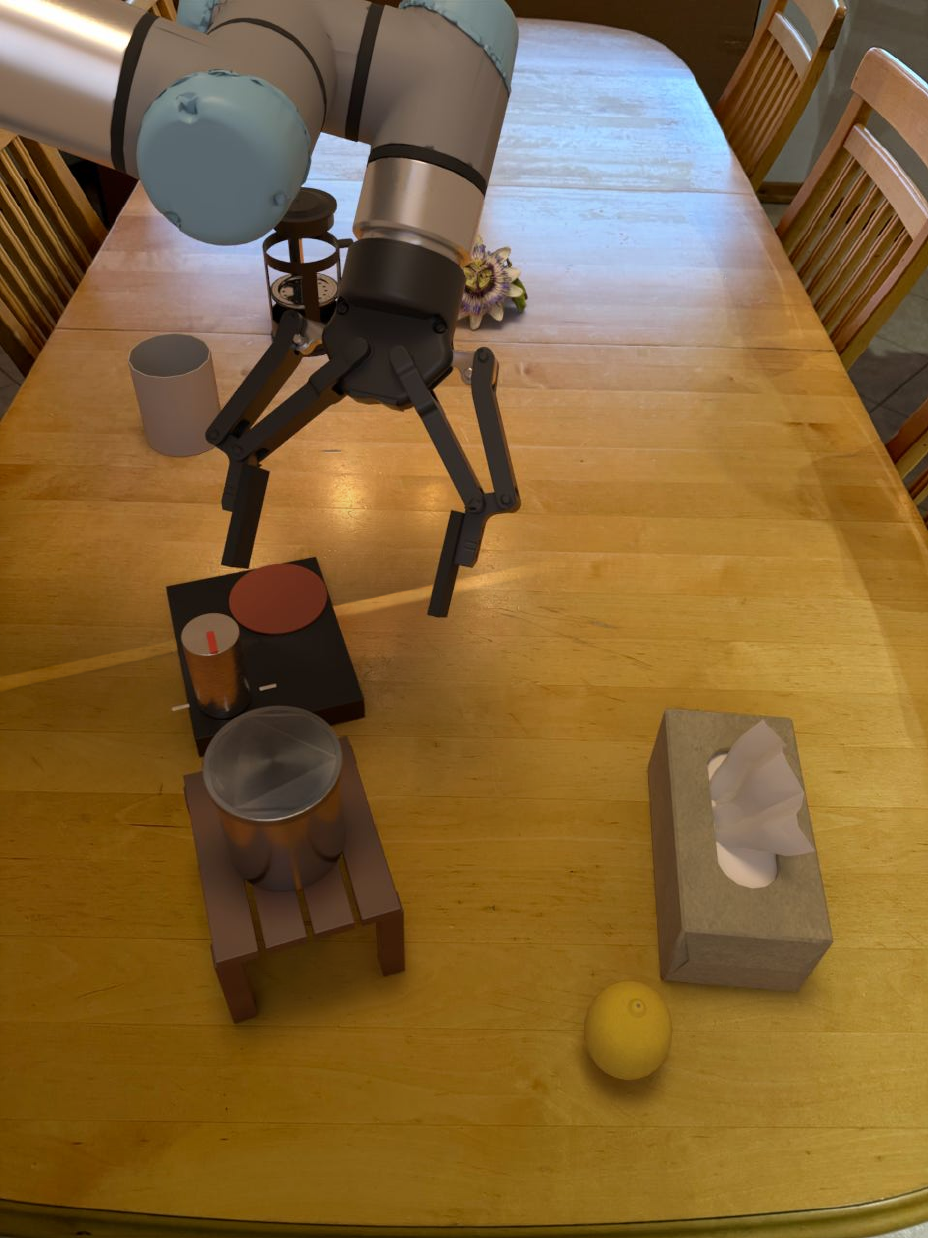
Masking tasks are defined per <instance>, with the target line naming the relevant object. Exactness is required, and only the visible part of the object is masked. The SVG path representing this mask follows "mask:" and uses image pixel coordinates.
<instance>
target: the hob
mask: <svg viewBox="0 0 928 1238" xmlns="http://www.w3.org/2000/svg"><path fill="white" fill-rule="evenodd" d="M318 561H319V560H318V559H317V556H312V557H307V558H301V559H296V560H291V561H287V562H281V563H280V564H293V565H298V566H301V567H304V568H307V569H309V570H311V571H312V572H314V573H315V574H316V575H318V576H319V577H320V579H321V580H322V581H323V583H324V585H325V587H326V591H327V602H326V605H325V608H324V610H323V612H322V613H321V614H320V616H319V617H318V618H317V619H316V620H315V621H313V622H312V623H311V624H309V625H308V626H306V627H304V628H302V629H300V630H297V631H295V632H291V633H286V634H278V635H269V634H261V633H257V632H254V631H251V630H249V629H247V628H245V627H244V626H242V625H241V624H240V623H238V622H237V621H236V619H235V618H234V617H233V615H232V613H231V610H230V606H229V597H230V593H231V591H232V589H233V587H234V585H235V584H236V583H237V582H238V581H239V580H240V579H241V578H242V577H243V576H244V575H246V574H247V573H249V572H251V571H253V570H255V569H257V568H258V567H256V568H251V569H246V570H242V571H237V572H231V573H226V574H221V575H216V576H211V577H206V578H201V579H195V580H192V581H187V582H181V583H175V584H172V585H167V586H165V589H166V595H167V600H168V606H169V611H170V616H171V621H172V626H173V627H172V628H173V632H174V637H175V638H174V639H175V643H176V649H177V654H178V659H179V665H180V669H181V674H182V680H183V686H184V691H185V696H186V697H185V698H186V702H187V703H186V704H180V705H176V706H173V707H171V711H172V712H178V711H182V710H187V709H188V712H189V718H190V723H191V729H192V734H193V739H194V743H195V747H196V750H197V753H198V757H199V758H204V755H205V752H206V749H207V747H208V745H209V743H210V742H211V740H212V739H213V737H214V736H215V735H216V733H217V732H218V731H219V730H220V729H221V728H222V727H223V726H225V725H226V724H227V723H228V722H230V721H231V720H233V719H234V718H236V717H238V716H240V715H242V714H244V713H246V712H249V711H251V710H255V709H258V708H263V707H268V706H290V707H296V708H300V709H304V710H306V711H309V712H311V713H313V714H315V715H317V716H319V717H320V718H321V719H323V720H324V721H325V722H326V723H327V724H328V725H330V727H332V726H335V725H340V724H343V723H347V722H351V721H356V720H359V719H365V718H366V706H365V697H364V693H363V691H362V689H361V686H360V682H359V680H358V677H357V674H356V673H357V672H356V671H355V668H354V665H353V662H352V659H351V656H350V653H349V650H348V648H347V643H346V641H345V638H344V635H343V633H342V630H341V626H340V623H339V620H338V617H337V615H336V611H335V609H334V606H333V605H334V604H333V603H332V600H331V596H330V594H329V591H328V588H327V584H326V582H325V579H324V575H323V573H322V570H321V567H320V564H319V562H318ZM209 613H219V614H224V615H227V616H229V617H230V618H232V619H233V620H234V621H235V622H236V623H237V625H238V627H239V631H240V637H241V642H242V647H243V652H244V657H245V662H246V667H247V672H248V677H249V682H250V688H251V693H252V696H251V700H250V703H249V705H248V706H247V707H246V709H245V710H243V711H242V712H241V713H239V714H238V715H236V716H233V717H230V718H223V719H218V718H213V717H210V716H208V715H206V714H205V713H203V712H202V711H201V709H200V708H199V706H198V702H197V698H196V694H195V691H194V687H193V683H192V679H191V675H190V672H189V668H188V664H187V660H186V657H185V653H184V649H183V645H182V641H181V634H182V631H183V629H184V627H185V626H186V625H187V624H188V623H189V622H190V621H191V620H192V619H194V618H196V617H198V616H201V615H204V614H209Z"/></svg>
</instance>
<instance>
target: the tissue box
mask: <svg viewBox="0 0 928 1238" xmlns="http://www.w3.org/2000/svg"><path fill="white" fill-rule="evenodd" d="M660 721H661V722H660V724H659V728H658V732H657V734H656V738H655V741H654V744H653V748H652V751H651V754H650V758H649V761H648V764H647V774H648V777H647V778H648V792H649V793H648V794H649V808H650V825H651V826H650V827H651V840H652V841H651V843H652V858H653V873H654V888H655V890H654V891H655V892H654V893H655V906H656V907H655V908H656V924H657V940H658V957H659V970H660V971H659V973H660V978H661V979H662V980H663V981H667V982H668V981H669V982H679V983H692V984H702V985H712V986H713V985H714V986H725V987H736V988H748V989H760V990H771V991H782V992H793V993H798V992H799V991H800V990H801V989H802V987H803V986H804V984H805V983H806V981H807V980H808V979H809V978H810V976H811V974H812V973H813V972H814V970H815V969H816V967H817V966H818V964H820V962H821V961H822V959H823V958H824V956H825V955H826V953H827V952H828V951H829V949H830V948H831V946H832V945H833V944H834V942H835V941H834V935H833V930H832V924H831V921H830V913H829V909H828V904H827V899H826V893H825V888H824V883H823V878H822V871H821V867H820V861H819V856H818V850H817V845H816V840H815V835H814V834H815V833H814V829H813V824H812V819H811V818H812V817H811V814H810V813H811V812H810V808H809V803H808V797H807V792H806V786H805V781H804V780H805V779H804V776H803V775H804V774H803V772H802V765H801V759H800V754H799V749H798V744H797V738H796V733H795V727H794V723H793V719H792V718H791V717H784V716H772V715H771V716H770V715H761V714H760V715H758V714H747V713H735V712H722V711H709V710H697V709H684V708H672V707H667V708H665V709H664V711H663V715H662V718H661V720H660Z"/></svg>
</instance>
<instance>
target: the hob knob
mask: <svg viewBox="0 0 928 1238" xmlns="http://www.w3.org/2000/svg"><path fill="white" fill-rule="evenodd" d="M181 641H182V645H183V649H184V653H185V657H186V660H187V664H188V668H189V672H190V675H191V679H192V683H193V687H194V691H195V694H196V698H197V702H198V706H199V708H200V709H201V711H202V712H203V713H205V714H206V715H208V716H210V717H213V718H218V719H223V718H230V717H233V716H236V715H238V714H239V713H241V712H242V711H243V710H245V709H246V707H247V706H248V705H249V703H250V700H251V696H252V693H251V688H250V682H249V677H248V672H247V667H246V662H245V657H244V652H243V647H242V642H241V637H240V631H239V627H238V625H237V623H236V622H235V621H234V620H233V619H232V618H230V617H229V616H227V615H224V614H219V613H209V614H204V615H201V616H198V617H196V618H194V619H192V620H191V621H190V622H189V623H188V624H187V625H186V626H185V627H184V629H183V631H182V634H181Z"/></svg>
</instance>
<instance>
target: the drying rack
mask: <svg viewBox="0 0 928 1238" xmlns="http://www.w3.org/2000/svg"><path fill="white" fill-rule="evenodd" d="M337 737H338V739H339V742H340V744H341V748H342V755H343V769H342V775H341V778H340V785H341V795H342V805H343V815H344V825H345V844H344V848H343V851H342V853H341V857H342V860H343V864H344V868H345V871H346V875H347V879H348V882H349V885H350V889H351V893H352V896H353V900H354V903H355V906H356V911H357V914H358V918H359V921H360V925H361V927H363V928H364V927H367V926H370V925H373V924H374V925H375V940H376V955H377V960H378V964H379V967H380V970H381V971H380V972H381V974H382V977H383V978H387V977H389V976H392V975H395V974H399V973H402V972H405V971H406V963H405V962H406V958H405V957H406V955H405V952H406V951H405V949H406V947H405V910H404V907H403V904H402V901H401V897H400V895H399V892H398V890H397V889H396V885H395V883H394V880H393V876H392V873H391V870H390V867H389V863H388V860H387V857H386V854H385V851H384V848H383V845H382V841H381V838H380V835H379V832H378V828H377V825H376V821H375V818H374V816H373V813H372V810H371V807H370V803H369V799H368V797H367V793H366V790H365V787H364V784H363V780H362V777H361V775H360V772H359V769H358V762H357V757H356V755H355V752H354V749H353V746H352V745H351V742H350V740H349V736H348V735H343V736H337ZM182 778H183V783H184V786H183V787H182V789H183V794H184V801H185V806H186V809H187V812H188V817H189V818H190V825H191V831H192V836H193V842H194V848H195V853H196V860H197V866H198V872H199V878H200V882H201V883H200V884H201V887H202V894H203V900H204V906H205V911H206V916H207V917H206V918H207V923H208V928H209V935H210V940H211V944H210V945H209V947H210V953H211V959H212V964H213V969H214V972H215V975H216V977H217V980H218V983H219V985H220V988H221V991H222V994H223V997H224V1000H225V1002H226V1005H227V1008H228V1011H229V1013H230V1017H231V1019H232V1022H233V1024H237V1023H241V1022H243V1021H247V1020H249V1019H254V1018H256V1017H258V1011H257V1006H256V1002H255V1001H256V1000H255V995H254V992H253V990H252V985H251V983H250V979H249V975H248V972H247V969H246V966H245V963H246V962H249V961H253V960H256V959H260V958H261V952H260V949H259V943H258V938H257V933H256V928H255V924H254V919H253V915H252V910H251V909H252V908H251V905H250V899H249V895H248V894H249V893H248V889H247V885H246V880H245V879H244V878H242V877H241V875H240V874H239V873H238V872H237V871H236V869H235V868H234V866H233V864H232V862H231V859H230V855H229V852H228V848H227V845H226V841H225V837H224V834H223V830H222V826H221V823H220V819H219V816H218V812H217V808H216V806H215V805H214V804H213V802H212V801H211V800H210V798H209V796H208V794H207V792H206V789H205V785H204V781H203V777H202V770H199V771H195V772H191V773H187V774H183V776H182ZM251 887H252V892H253V896H254V902H255V906H256V907H255V908H256V911H257V916H258V921H259V925H260V930H261V935H262V936H261V937H262V940H263V945H264V949H265V953H266V955H267V956H269V955H272V954H276V953H279V952H283V951H286V950H289V949H294V948H296V947H300V946H303V945H306V944H309V937H308V932H307V928H306V924H305V920H304V916H303V911H302V907H301V903H300V900H299V896H298V892H297V890H293V891H285V892H278V891H269V890H265V889H261V888H259V887H256V886H254V885H252V884H251ZM301 890H302V893H303V898H304V902H305V906H306V910H307V914H308V918H309V922H310V926H311V930H312V934H313V938H314V940H315V941H319V940H323V939H326V938H329V937H333V936H337V935H340V934H343V933H347V932H350V931H354V930H355V929H356V921H355V916H354V913H353V909H352V905H351V901H350V898H349V894H348V892H347V888H346V885H345V881H344V877H343V873H342V869H341V866H340V863H339V860H338V861H337V863H336V864H335V866H334V867H333V868H332V869H331V870H330V871H329V872H328V873H327V874H326V875H325V876H324V877H323V878H321V879H320V880H318V881H317V882H315V883H313V884H311V885H309V886H307V887H304V888H301Z"/></svg>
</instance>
